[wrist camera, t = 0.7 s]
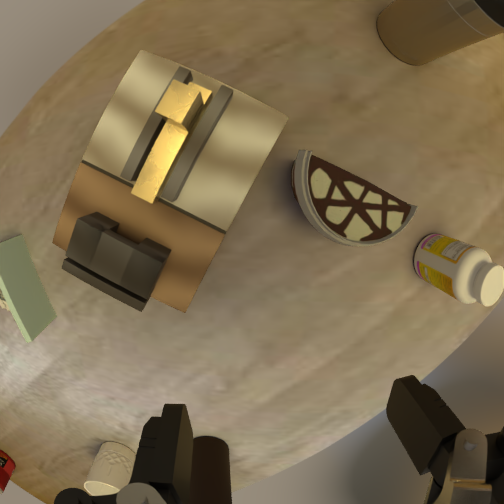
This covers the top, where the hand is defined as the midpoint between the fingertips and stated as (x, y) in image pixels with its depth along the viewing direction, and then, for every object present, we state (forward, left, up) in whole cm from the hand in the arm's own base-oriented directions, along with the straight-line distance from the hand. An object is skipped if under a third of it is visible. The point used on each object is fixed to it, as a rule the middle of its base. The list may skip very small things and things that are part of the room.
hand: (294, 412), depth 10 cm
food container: (-9, +5, -25) cm, 27 cm away
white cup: (+43, -3, -25) cm, 50 cm away
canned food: (+76, -30, -25) cm, 86 cm away
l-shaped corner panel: (+20, -27, -26) cm, 42 cm away
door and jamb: (-3, -12, -25) cm, 28 cm away
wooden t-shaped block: (-7, -12, -23) cm, 27 cm away
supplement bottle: (-11, +23, -25) cm, 36 cm away
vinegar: (+32, +10, -25) cm, 42 cm away
